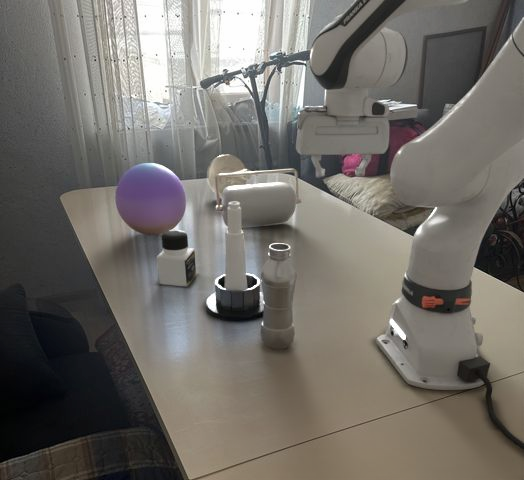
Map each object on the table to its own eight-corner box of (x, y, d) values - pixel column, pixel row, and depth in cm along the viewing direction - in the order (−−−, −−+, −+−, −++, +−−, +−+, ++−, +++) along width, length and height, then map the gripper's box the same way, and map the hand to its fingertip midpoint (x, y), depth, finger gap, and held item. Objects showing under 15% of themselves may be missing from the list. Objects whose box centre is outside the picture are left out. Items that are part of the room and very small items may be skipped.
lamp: (194, 224, 185) (222, 232, 149) (186, 157, 178) (214, 148, 141) (264, 216, 193) (307, 222, 156) (259, 152, 185) (304, 143, 149)
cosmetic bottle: (255, 304, 112) (255, 203, 100) (232, 312, 109) (230, 209, 97) (239, 294, 116) (237, 196, 104) (217, 301, 113) (212, 201, 101)
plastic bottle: (283, 356, 96) (287, 256, 86) (253, 346, 99) (253, 248, 89) (300, 341, 101) (305, 245, 90) (270, 332, 104) (272, 237, 93)
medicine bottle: (187, 287, 122) (183, 238, 115) (158, 284, 123) (153, 236, 116) (196, 275, 128) (193, 228, 121) (169, 272, 129) (164, 226, 122)
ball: (116, 226, 158) (107, 158, 147) (181, 220, 164) (175, 154, 153) (124, 249, 142) (114, 175, 131) (195, 241, 148) (190, 169, 137)
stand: (270, 321, 108) (271, 296, 105) (204, 321, 108) (202, 296, 104) (268, 292, 120) (269, 268, 116) (208, 292, 119) (207, 268, 116)
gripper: (303, 106, 100) (300, 180, 106) (396, 107, 105) (388, 177, 112) (292, 105, 105) (290, 175, 112) (381, 106, 111) (374, 173, 117)
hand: (340, 176), depth 112 cm, fingers open, 8 cm apart
